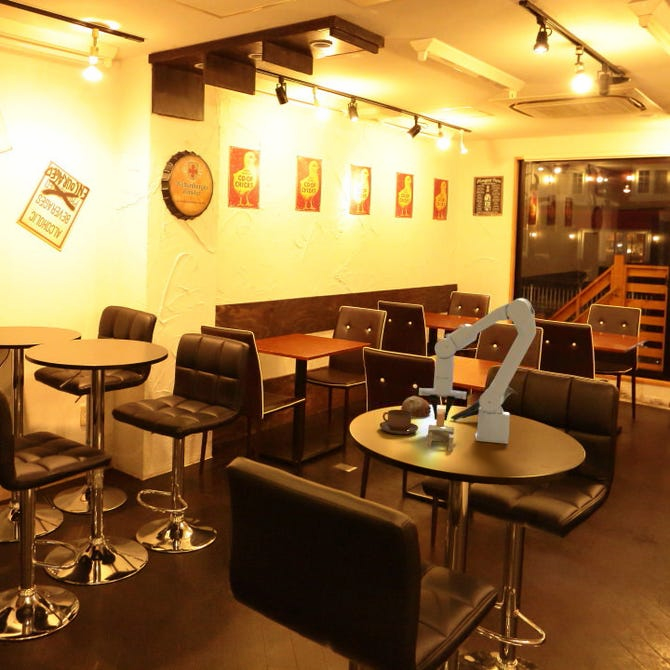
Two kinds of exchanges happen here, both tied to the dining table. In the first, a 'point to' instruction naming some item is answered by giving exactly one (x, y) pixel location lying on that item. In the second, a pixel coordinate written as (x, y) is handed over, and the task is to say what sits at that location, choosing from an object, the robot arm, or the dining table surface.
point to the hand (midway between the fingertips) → (440, 419)
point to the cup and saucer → (398, 422)
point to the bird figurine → (475, 407)
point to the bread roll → (416, 406)
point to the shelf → (440, 435)
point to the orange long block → (440, 417)
